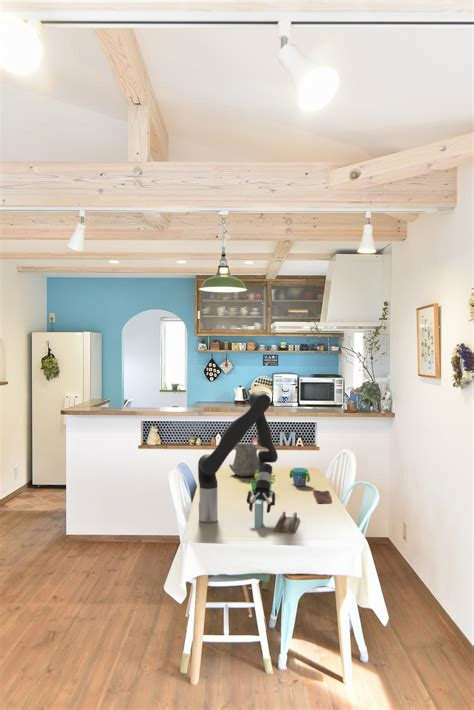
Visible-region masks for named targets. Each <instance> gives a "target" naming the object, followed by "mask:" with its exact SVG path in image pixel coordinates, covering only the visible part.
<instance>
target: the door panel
mask: <svg viewBox="0 0 474 710" xmlns="http://www.w3.org/2000/svg"><path fill="white" fill-rule="evenodd" d="M263 525H264V502H263V500H261V499H257V501H256V502H255V503H254V528H257V529H260V528H262V526H263Z"/></svg>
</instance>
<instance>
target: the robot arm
mask: <svg viewBox="0 0 474 710" xmlns="http://www.w3.org/2000/svg"><path fill="white" fill-rule="evenodd" d="M248 403H249V406H250V408H249V409H248V410H247V411H246V412H245V413H244V414H243V415H241V416H238V418H236V419H235V420H233V421H232V422H231V423H230V424H229V425H228V427H226V429H225V431H224V432H223V434H222V436H221V439H220V441H219V443H218V444H217V447H216V448H215V449H214V450H213V451H212V453H211V454H210V453H209V454H203V455H202V456H200V458H199V459H198V463H197V469H198V473H197V474H198V482H199V483H198V484H199V503H198V522H199V521H201V522H202V523H206V524H207V523H208V524H209V523H211V524H212V523H215V522H217V521H218V504H219V503H218V493H219V492H218V487H219V486H218V479H217V474H216V473H217V472H218V471H219V470H220V468H221V466H222V464H223V463H224V462H225V460H226V459H227V458H228V456H229V455H230V454H231V452H232V451H233V450H234V449H235V446H237V445H239V444H240V443H239V442H241V440H242V439H243V438H244V436H246V434H247V433H248V431H249V430H250V429H251V428H252V426H253V425H254V424H255V426H256V433H257V438H258V444H259V447H261V448H265V449H260V450H259V451H258V453H257V457H258V460H259V472H258V476H257V481H256V488H255V491H254V492H253V491H251V490H249V491H248V493H247V497H246V503H247V504H249V505H248V509H249V511H250V512H253V509H254V508H253V507H254V505H255V502H256V501H257V499H261V500H263V503H264V502H266V504H267V507H266V513H267V514H269V513H270V512H271V508H272V506H275V505H276V493H275V492H272V493H271V491H270V490H271V486H272V475H273V466H272V465H271V464H272V463H276V462H277V460H278V459H279V457H278V452H277V450H276V448H275V445H274V443H273V440H272V439H273V437H272V434H271V433H272V432H271V429H270V426H269V422H268V421H267V418H266V415H265V413H266V411H267V410H268V409H269V408H270V406H271V403H272V401H271V397H270V395H268V394H266V393H264V392H262V391H258V390H257V391H253V392H252V393H251V394H250V395H249V398H248ZM269 463H270V464H269ZM251 497H252V499H251ZM269 498H271V501H270V499H269Z"/></svg>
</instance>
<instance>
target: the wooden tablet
mask: <svg viewBox="0 0 474 710" xmlns="http://www.w3.org/2000/svg"><path fill="white" fill-rule="evenodd" d="M312 495H313V497H314V499H315V501H316V503H317V504H319V505H330V504H333V500H332V499H333V498H332V496H331V492H330V491H329V490H316V489H315V490H313V491H312Z"/></svg>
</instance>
